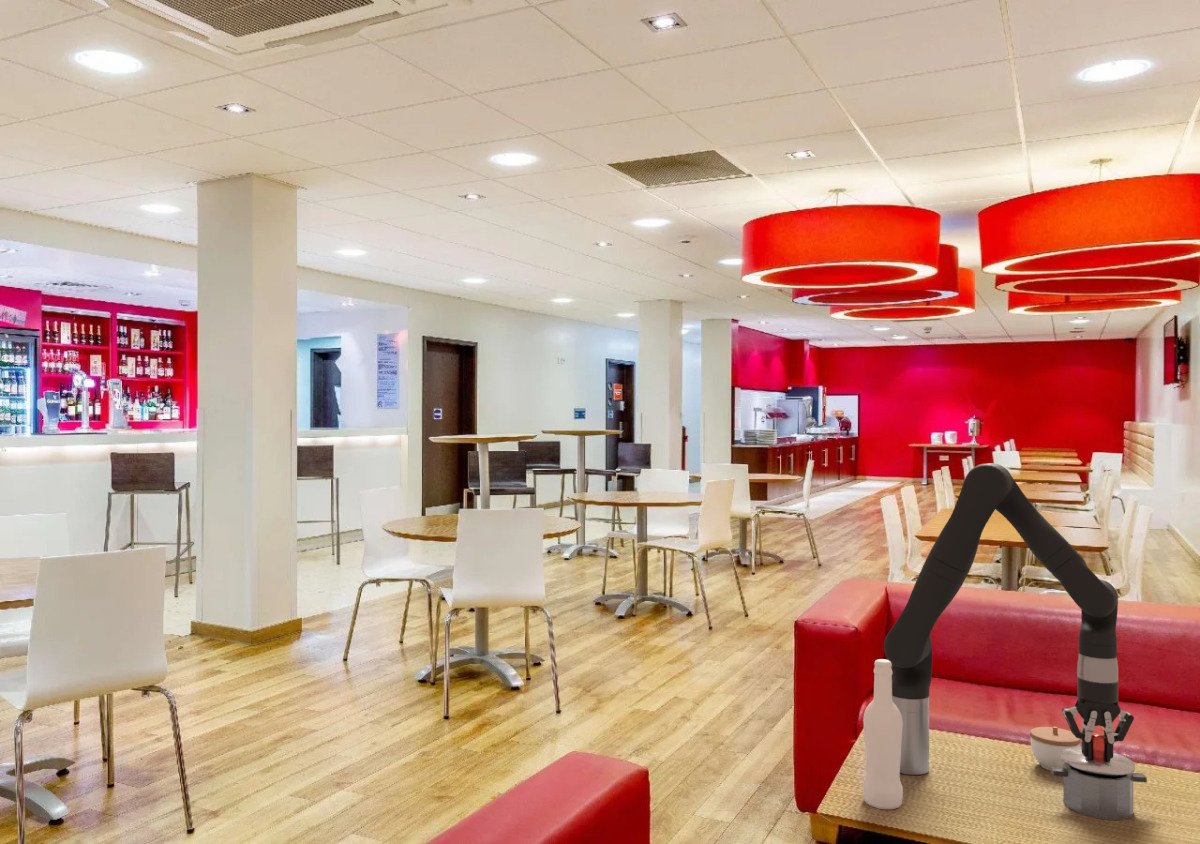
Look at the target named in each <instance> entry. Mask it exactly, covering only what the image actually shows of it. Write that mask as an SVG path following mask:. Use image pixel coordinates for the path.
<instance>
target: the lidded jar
mask: <svg viewBox="0 0 1200 844" xmlns="http://www.w3.org/2000/svg"><path fill="white" fill-rule="evenodd" d="M1029 737H1030V746H1031V752H1032V756H1033V757H1034V759H1035V760H1036V762H1038V763H1039V764H1040V767H1042V768H1043V769H1045V770H1047V771H1050V767H1059V768H1063V764H1064V763H1065V762H1063V761H1062V759H1061V752H1062V751H1064V750H1066V749H1071V748H1081V744H1082V740H1081V739H1079V738H1076V737H1075V736H1074V735H1073V734H1072V732H1071V730H1069V729H1064V728H1059V727H1058V726H1052V727H1051V726H1039V727H1034V728H1032V729H1030V731H1029Z"/></svg>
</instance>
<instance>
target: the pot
mask: <svg viewBox="0 0 1200 844" xmlns="http://www.w3.org/2000/svg"><path fill="white" fill-rule="evenodd" d="M1049 771H1050V773H1051V775H1052V776H1055V777H1063V778H1062V779H1063V783H1062V784H1063V787H1062V788H1063V798H1062V799H1063V803H1064V804H1065V806H1066V807H1067V809H1070V810H1072V811H1074V812H1076V813H1078V814H1080V815H1083V816H1087V817H1091V818H1094V819H1097V820H1110V821H1111V820H1112V821H1119V820H1120V821H1121V820H1127V819H1130V818H1131V817H1132V815H1133V814H1134V782H1136V783H1148V782H1147V781H1148V777H1146V775H1145V774H1143V773H1142V772H1141V773H1140V772H1139V773H1138V772H1132V773H1130V774H1126V775H1113V776H1105V775H1097V774H1092V773H1088V772H1085V771H1082V770H1080V769H1077V768H1074V767H1072V766H1070V765H1068V764H1066V763H1064V764H1063V768H1059V767H1050V770H1049Z"/></svg>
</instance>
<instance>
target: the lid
mask: <svg viewBox="0 0 1200 844" xmlns="http://www.w3.org/2000/svg"><path fill="white" fill-rule="evenodd" d="M1090 742H1091V743H1092V759H1091V760H1087V759H1086V758H1085V756H1084V755H1083V754H1082V747H1080V748H1071V749H1066V750H1064V751H1062V752H1061V759H1062V761H1063V762H1065V763H1066V764H1068V765H1070V766H1072V767H1074V768H1077V769H1080V770H1082V771H1085V772H1088V773H1092V774H1097V775H1105V776H1113V775H1126V774H1130V773H1135V771H1136V765H1135V764H1136V763H1134V761H1132V760H1131V759H1130V758H1129V757H1126V756H1124V755H1121V754H1119V753H1115V752H1113V758H1112V759H1111V758H1110V761H1106V736H1105V735H1104V733H1103V734H1102V733H1099V732H1092V736H1091V741H1090Z"/></svg>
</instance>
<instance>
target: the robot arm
mask: <svg viewBox="0 0 1200 844" xmlns="http://www.w3.org/2000/svg"><path fill="white" fill-rule="evenodd" d="M962 483H963V484H962V487H961V490H960V492H959V494H958V497H957V500H956V503H955V506H954V509H953V510H952V512H951V515H950V517H949V518H948V521H947V522H946V523H945V525H944V526H943V528H942V530H941V531H940V533H939V535H938V536H937V538H936V540H935V542H934V544H933V546H932V547H931V549H930V551H929V553H928V555H927V557H926V558H925V561H924V563H923V565H922V567H921V569H920V571H919V575H918V576H917V579H916V580H915V583H914V586H913V587H912V590H911V592H910V595H909V598H908V600H907V603H906V605H905V607H904V608H903V610H902V611H901V613H900V615H899V616H898V618H897V620H896V622H895V623H894V624H893V626H892V628H890V630H889V632H888V633H887V635H886V636H885V639H884V643H883V650H884V651H883V652H884V653H885V657H886V660H889V661H891V664H892V666H891V669H892V701H893V702H894V704H895V705H896V706H897V708H898V709H899V711H900V713H901V716H902V721H903V727H902V743H901V758H900V774H904V775H912V776H913V775H915V776H918V775H919V776H920V775H924V774H927V773H929V772H930V689H931V688H930V687H931V683H932V675H933V643H932V641H933V640H932V637H931V634H932V631H933V628H934V627H935V625H936V623H937V621H938V619H939V617H941V615H942V614H943V612H944V611H945V610H946V609H947V608H948V607H949V605H950V604H951V602H952V601H953V600H954V598H955V597H956V595H957V594H958V592H959V591H960V589H961V588H962V585H964V582H965V580H966V579H967V576H968V575H969V572H970V570H971V569H972V567H973V564H974V561H975V558H976V555H977V552H978V548H979V544H980V540H981V537H982V533H983V531H984V528H985V527H986V525H987V524H988V522H989V520H990V518H991V517H992V515H993V513H994V512H995V511H997V512H998V513H999V514H1001V515H1002V516H1003V517H1004V518H1005V520H1007V521H1008V522H1009V523H1010V525H1012V527H1013V529H1015V531H1016V532H1017V534H1018V535H1019V536H1020V538H1021V539H1022V540H1023V542H1024V543H1025V544H1026V546H1027V548H1028V550H1029V551H1031V553H1032V554H1033V555H1034V556H1035V558H1036V559H1037V560H1038V561H1039V562H1040V563H1041V564H1042V565H1043V567H1045V569H1046V570H1048V572H1049V573H1051V575H1052V576H1053V577H1054V578H1055V579H1056V580H1058V582H1059V583H1060V584H1061V586H1062V588H1063V589H1064V590H1065V592H1067V594H1068V595H1069V597H1070V598H1071V599H1072V600H1073V602H1074V603H1075V604H1076V605H1077V606H1078V608H1080V609H1081V610H1080V611H1081V625H1080V629H1079V633H1078V634H1079V635H1078V659H1077V667H1076V674H1077V677H1076V678H1077V679H1076V680H1077V686H1076V687H1077V690H1076V692H1077V701H1076V702H1075V704H1074V706H1072V707H1069V708H1067V707H1063V708H1062V709H1061V712H1062V714H1063V716H1064V719H1065V721H1066V723H1067V725H1068V727H1069V729H1070V730H1069V731H1071V732H1072V734H1073V735H1074V736H1075V737H1076V738H1079V739H1081V748H1082V754H1083V755H1084V756H1085V758H1086V759H1087V760H1091V759H1092V743H1091V742H1090V741H1091V736H1092V733H1094V729H1095V727H1098V726H1100V727H1101V729H1102V733H1103V735H1105V736H1106V761H1110V758H1111V759H1112V758H1113V753H1114V744H1115V743H1116V742H1123V741H1124V740H1125V738H1126V736H1127V734H1128V732H1129V730H1130V728H1131V725H1132V724H1133V721H1134V719H1135V717H1134V716H1133V714H1132V713H1130V712H1129V711H1124V710H1122V709H1121V707H1120V705H1119V665H1118V664H1119V663H1118V656H1117V655H1118V641H1117V639H1118V638H1117V631H1116V629H1117V622H1118V621H1117V620H1118V612H1119V611H1118V609H1119V608H1118V607H1119V596H1118V592H1117V589H1116V588H1115V587H1114V586H1113V585H1112V583H1110V582H1108V581H1106V580H1104V579H1100V578H1099V577H1098V576H1097V575H1096V574H1095V573H1094V572H1093V571H1092V570H1091V569H1090V568H1089V567H1088V565H1087V562H1086V560H1085V559H1084V558H1083V557H1082V555H1081V554H1080V553H1079V552H1078V551H1077V550H1076V549H1075V547H1073V546H1072V544H1070V542H1069V541H1067V540H1066V539H1065V537H1064V536H1063V535H1061V533H1060V532H1059V531H1057V529H1056V528H1055V527H1054V526H1053V525H1051V524H1050V522H1049V521H1048V520H1046V518H1045V517H1044V516H1043V515H1042V514H1041V513H1040V512H1039V511H1038V510H1037V508H1035V506H1034V505H1033V504H1032V502H1031V501H1030V500H1029V499H1028V497H1027V496H1026V495H1025V494H1024V492H1023V491H1022V489H1021V488H1020V486H1019V485H1018V483H1017V481H1016V480H1015V479H1014V477H1013V476H1012V475H1011V473H1010V471H1009V470H1008V469H1007V468H1006V467H1004V466H1002V465H1001V464H999V463H994V462H989V463H988V462H987V463H981V464H977V465H976V466H974V467H973V468H971V469H970V470H969V471H968V473H967V474H966V476H965V478H964V480H963V482H962ZM1077 713H1078V714H1079V716H1080V717H1081V718H1082V722H1081V723H1082V724H1081V728H1082V729H1081V730H1080V729H1079V727H1078V724H1077V722H1076V720H1075V719H1077ZM1116 718H1118V719H1119V722H1118V724H1117V726H1116V728H1115V730H1114V726H1113V722H1114V721H1115V720H1116Z"/></svg>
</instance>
